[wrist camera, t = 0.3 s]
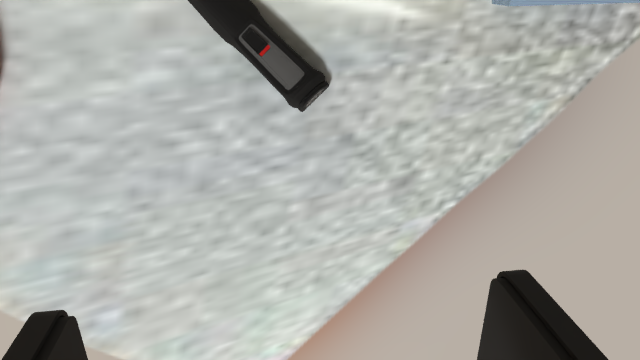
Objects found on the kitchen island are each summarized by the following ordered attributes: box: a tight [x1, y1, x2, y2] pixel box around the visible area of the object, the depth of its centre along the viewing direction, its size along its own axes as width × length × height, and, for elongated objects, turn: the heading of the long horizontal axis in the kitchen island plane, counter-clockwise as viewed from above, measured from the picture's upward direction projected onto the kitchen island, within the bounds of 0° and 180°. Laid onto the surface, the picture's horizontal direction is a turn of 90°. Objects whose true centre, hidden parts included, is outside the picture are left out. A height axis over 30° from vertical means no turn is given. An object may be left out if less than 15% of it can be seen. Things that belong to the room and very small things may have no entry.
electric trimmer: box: [188, 0, 329, 112], centre depth 36 cm, size 4×16×3 cm, turn 44°
